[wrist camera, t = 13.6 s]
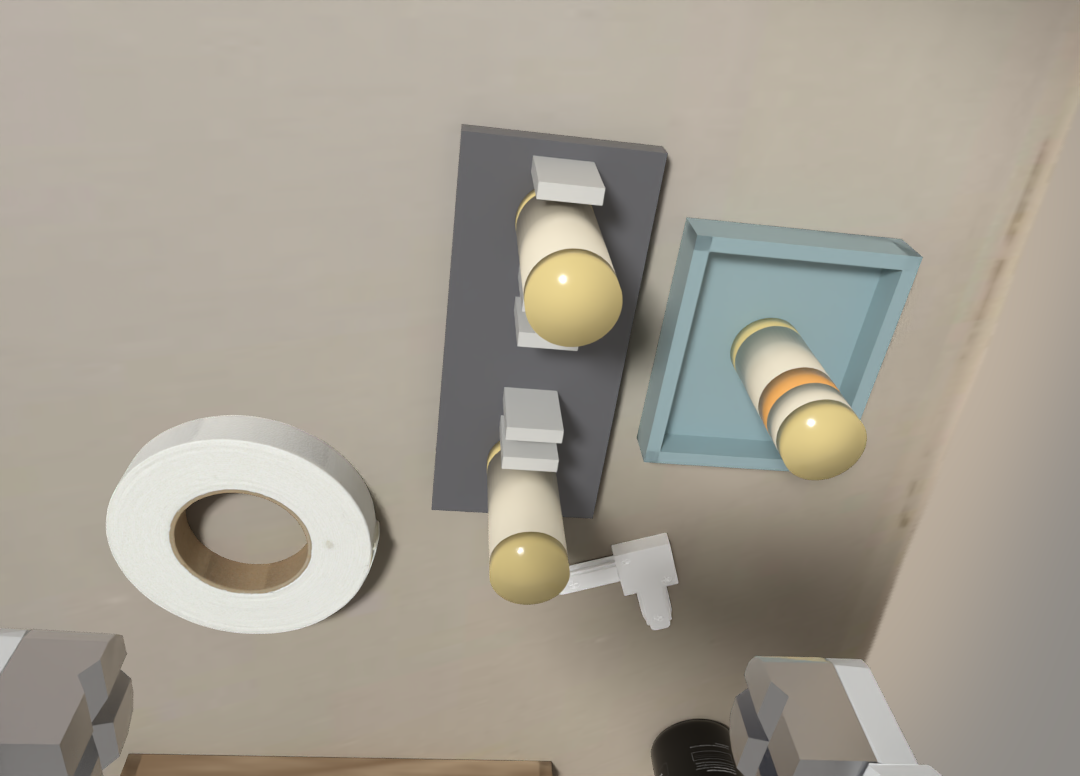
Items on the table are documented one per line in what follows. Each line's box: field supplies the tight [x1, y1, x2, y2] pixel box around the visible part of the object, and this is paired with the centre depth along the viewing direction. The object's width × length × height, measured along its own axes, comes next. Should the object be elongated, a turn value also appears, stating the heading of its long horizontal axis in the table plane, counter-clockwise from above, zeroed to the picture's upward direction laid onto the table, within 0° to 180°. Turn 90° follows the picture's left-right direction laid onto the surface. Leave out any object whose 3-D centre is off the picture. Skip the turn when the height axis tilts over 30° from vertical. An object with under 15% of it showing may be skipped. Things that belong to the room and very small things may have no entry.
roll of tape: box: [106, 415, 380, 634], centre depth 52 cm, size 16×15×3 cm
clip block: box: [432, 124, 668, 519], centre depth 45 cm, size 23×10×5 cm, turn 173°
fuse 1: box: [515, 189, 622, 347], centre depth 38 cm, size 4×4×10 cm
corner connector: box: [559, 533, 678, 630], centre depth 58 cm, size 8×8×2 cm
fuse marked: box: [730, 318, 867, 480], centre depth 44 cm, size 4×4×10 cm
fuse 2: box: [487, 441, 570, 605], centre depth 46 cm, size 4×4×10 cm
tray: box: [637, 218, 923, 471], centre depth 47 cm, size 14×12×2 cm
